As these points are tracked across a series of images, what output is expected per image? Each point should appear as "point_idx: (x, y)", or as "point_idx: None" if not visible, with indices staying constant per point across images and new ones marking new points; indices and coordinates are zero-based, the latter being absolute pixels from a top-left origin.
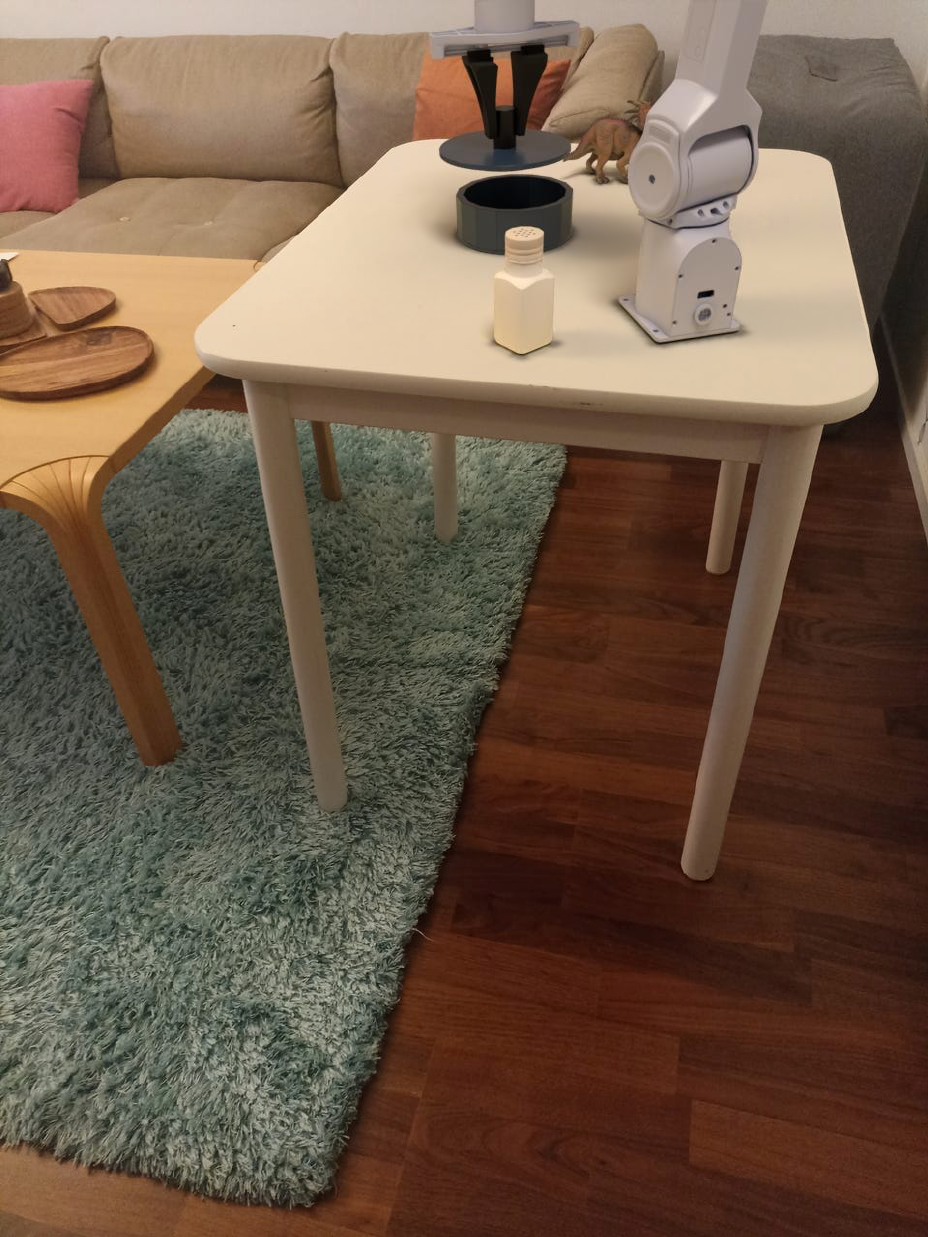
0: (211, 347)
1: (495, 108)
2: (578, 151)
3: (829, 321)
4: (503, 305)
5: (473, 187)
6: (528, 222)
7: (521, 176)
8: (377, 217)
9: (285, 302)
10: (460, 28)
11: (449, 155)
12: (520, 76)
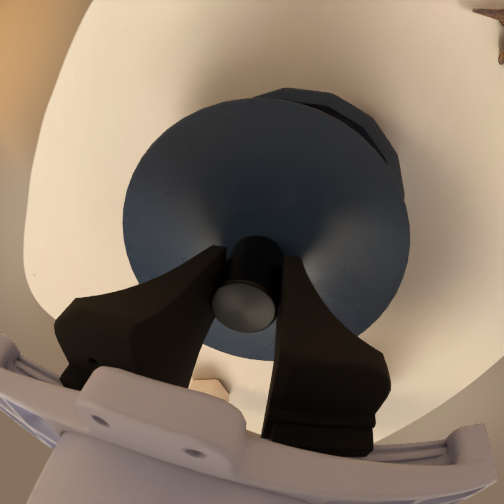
0: (33, 295)
1: (203, 340)
2: (500, 17)
3: (402, 420)
4: None
5: None
6: None
7: (349, 118)
8: (127, 40)
9: (50, 255)
10: (11, 399)
11: (137, 260)
12: (268, 397)
